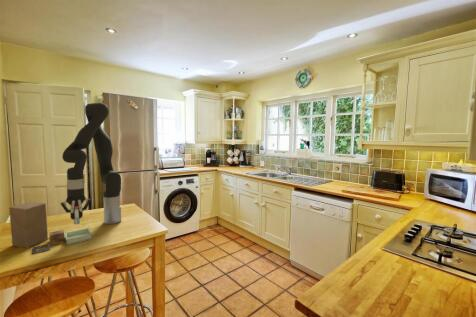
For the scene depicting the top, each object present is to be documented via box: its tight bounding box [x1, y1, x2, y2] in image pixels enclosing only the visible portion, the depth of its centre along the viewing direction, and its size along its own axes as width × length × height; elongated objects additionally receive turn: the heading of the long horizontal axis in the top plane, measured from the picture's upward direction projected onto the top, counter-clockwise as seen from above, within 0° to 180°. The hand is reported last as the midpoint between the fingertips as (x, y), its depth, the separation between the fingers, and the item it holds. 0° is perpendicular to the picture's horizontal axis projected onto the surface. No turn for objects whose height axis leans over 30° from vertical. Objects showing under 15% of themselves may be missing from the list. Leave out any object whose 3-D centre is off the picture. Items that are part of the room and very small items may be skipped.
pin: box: [73, 206, 81, 225], centre depth 121 cm, size 3×3×10 cm
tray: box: [64, 227, 93, 246], centre depth 122 cm, size 11×10×3 cm
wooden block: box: [8, 201, 49, 249], centre depth 115 cm, size 10×10×20 cm
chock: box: [48, 229, 66, 246], centre depth 118 cm, size 6×4×5 cm
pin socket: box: [32, 242, 51, 255], centre depth 110 cm, size 6×6×1 cm
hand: (76, 218), depth 121 cm, fingers closed on pin, 2 cm apart
